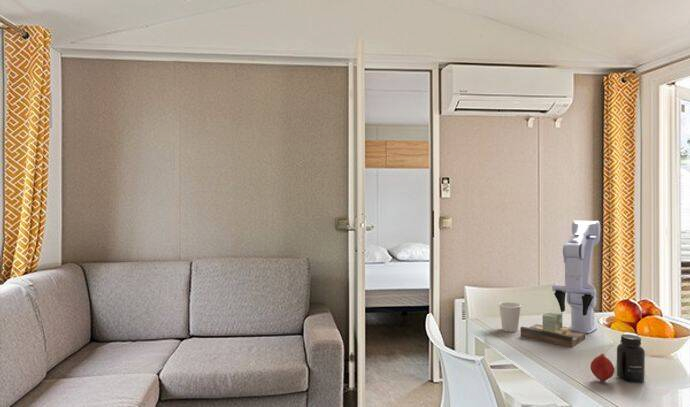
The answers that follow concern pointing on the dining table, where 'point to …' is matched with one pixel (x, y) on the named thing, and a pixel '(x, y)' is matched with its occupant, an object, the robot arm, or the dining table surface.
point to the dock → (552, 336)
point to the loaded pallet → (553, 323)
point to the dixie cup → (510, 316)
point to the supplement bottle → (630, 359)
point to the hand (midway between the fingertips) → (573, 313)
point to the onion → (602, 368)
